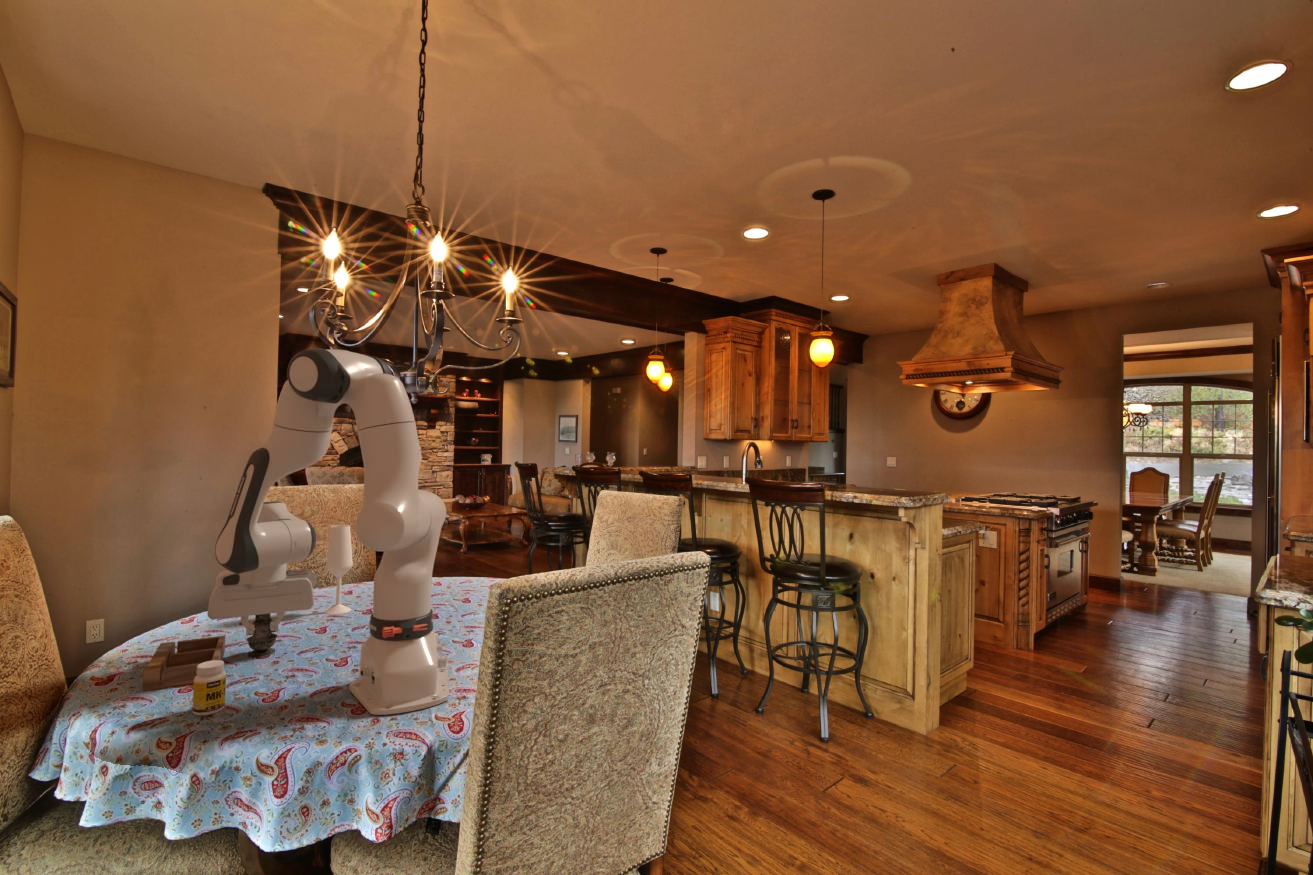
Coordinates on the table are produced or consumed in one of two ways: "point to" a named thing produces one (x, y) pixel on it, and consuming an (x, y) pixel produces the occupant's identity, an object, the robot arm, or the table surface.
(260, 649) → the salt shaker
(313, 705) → the table surface
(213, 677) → the supplement bottle
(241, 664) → the table surface
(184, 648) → the divided sorting tray
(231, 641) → the table surface
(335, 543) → the champagne flute
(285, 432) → the robot arm
